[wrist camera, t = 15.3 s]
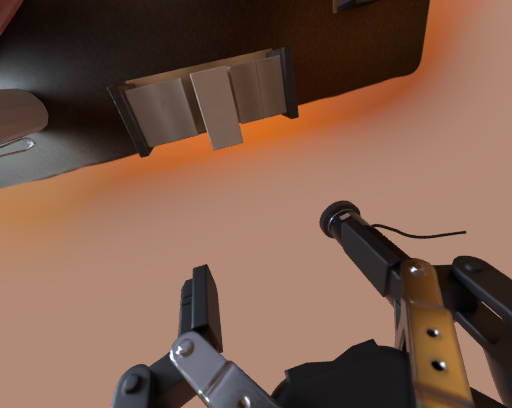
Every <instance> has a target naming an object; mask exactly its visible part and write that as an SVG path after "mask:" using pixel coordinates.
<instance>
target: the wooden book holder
mask: <svg viewBox="0 0 512 408" xmlns="http://www.w3.org/2000/svg"><path fill="white" fill-rule="evenodd" d="M222 66H226V69H227V74H228V78H229V82H230V87H231V91H232V95H233V100H234V104H235V109H236V113H237V117H238V122H239V123H241V124H244V123H248V122H252V121H256V120H260V119H264V118H267V117H272V116H275V115H279V114H282V115H284V116H286V117H288V118H290V119H294V118H298V117H299V116H298V105H297V95H296V84H295V74H294V63H293V52H292V46H286V47H283V48H280V49H277V50H274V51H272V49H267V50H263V51H258V52H254V53H249V54H245V55H241V56H236V57H232V58H227V59H223V60H218V61H214V62H209V63H205V64H201V65H196V66H192V67H187V68H183V69H178V70H174V71H169V72H165V73H161V74H156V75H152V76H147V77H143V78H138V79H134V80H129V81H126V84H120V85H114V86H109V87H108V90H109V92H110V94H111V96H112V98H113V100H114V103H115V105H116V107H117V109H118V111H119V113H120V115H121V117H122V119H123V121H124V123H125V126H126V128H127V130H128V132H129V134H130V136H131V138H132V140H133V142H134V144H135V147H136V149H137V151H138V153H139V155H140V157H146V156H149V155H150V153H151V151H152V150H153V148H154V146H158V145H162V144H165V143H169V142H173V141H178V140H181V139H185V138H189V137H193V136H197V135H198V133H201V132H205V131H207V129H206V126H205V123H204V119H203V116H202V113H201V110H200V106H199V103H198V100H197V96H196V93H195V90H194V86H193V83H192V80H191V77H190V74H191V73H196V72H200V71H204V70H209V69H213V68H217V67H222Z"/></svg>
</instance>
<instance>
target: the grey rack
mask: <svg viewBox="0 0 512 408" xmlns="http://www.w3.org/2000/svg"><path fill="white" fill-rule="evenodd" d="M377 1H379V0H333V14H335V13H339V12H344V11H349V10H353V9H358V8H363V7H366V6H367V5H370V4H372V3H375V2H377Z"/></svg>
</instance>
